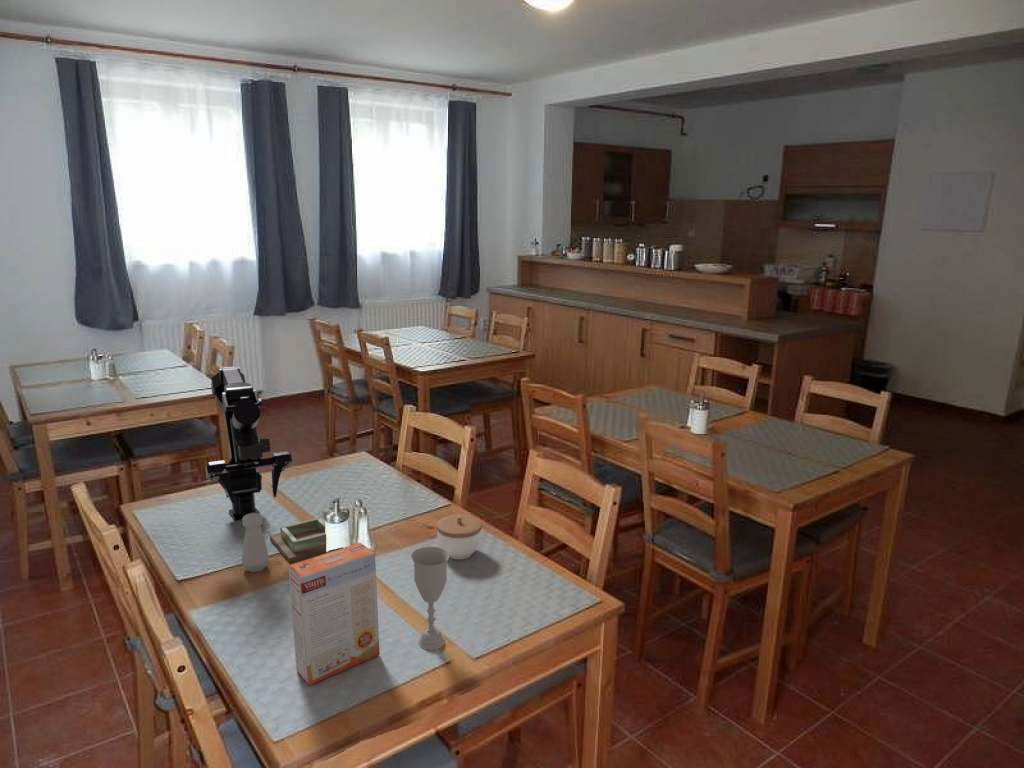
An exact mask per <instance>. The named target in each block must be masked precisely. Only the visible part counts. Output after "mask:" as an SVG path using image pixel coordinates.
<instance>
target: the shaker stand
mask: <svg viewBox="0 0 1024 768" xmlns="http://www.w3.org/2000/svg"><path fill="white" fill-rule="evenodd" d="M324 522H325V521H324V520H323V519H322V518H321V517H316V518H315V517H314V518H311V519H308V520H303V521H299V522H295V523H291V524H287V525H283V526H280V527H279V528H280V532H279V533H274V534H271V535H269V537H270V538H269V539H270V541H271V543H272V544H273V545H274V546H275V547H276V548H277V550H278V551H279V552H280V553H281V554H282V555H283V557H284V559H286V561H287V562H288V563H289V564H290V563H295V562H299V561H301V560H302V561H303V560H306V559H310V558H313V557H317V556H320V555H323V554H326V534H325V523H324Z"/></svg>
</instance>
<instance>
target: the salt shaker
mask: <svg viewBox="0 0 1024 768" xmlns="http://www.w3.org/2000/svg"><path fill="white" fill-rule="evenodd" d="M241 522H242V526H243V527H244V528H245V532H244V540H243V548H242V553H241V562H242V565H243V567H244V568H245V570H246V571H247V572H251V573H257V572H262V571H263V570H264V569H265V568H266V567H267V564H268V562H269V558H270V556H269V552H268V549H267V545H266V541H265V537H264V534H263V529H262V524H263V522H264V521H263V515H262V514H261V513H260V514H259V513H249V514H247V515H245V516H244V517H243V518H242V519H241Z"/></svg>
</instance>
